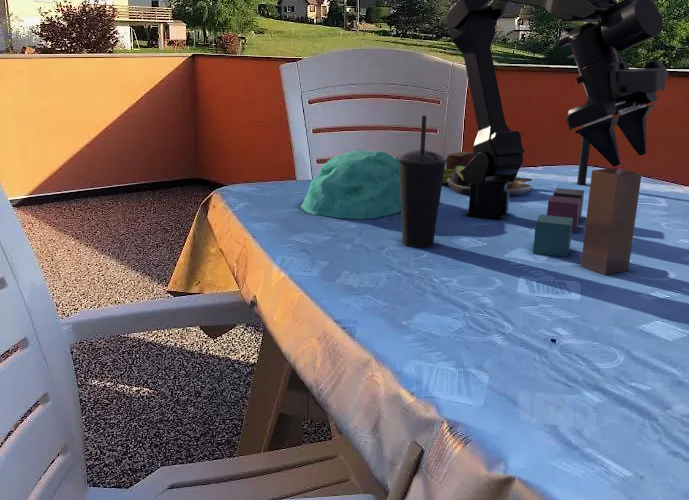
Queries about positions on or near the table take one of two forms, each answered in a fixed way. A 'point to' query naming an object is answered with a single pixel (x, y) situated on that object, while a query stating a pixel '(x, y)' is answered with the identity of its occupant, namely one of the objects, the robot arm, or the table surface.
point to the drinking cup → (420, 193)
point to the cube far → (571, 196)
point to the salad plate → (464, 188)
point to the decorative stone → (356, 186)
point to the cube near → (552, 235)
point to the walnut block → (610, 220)
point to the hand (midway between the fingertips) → (630, 159)
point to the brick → (459, 159)
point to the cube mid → (565, 208)
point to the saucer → (447, 175)
